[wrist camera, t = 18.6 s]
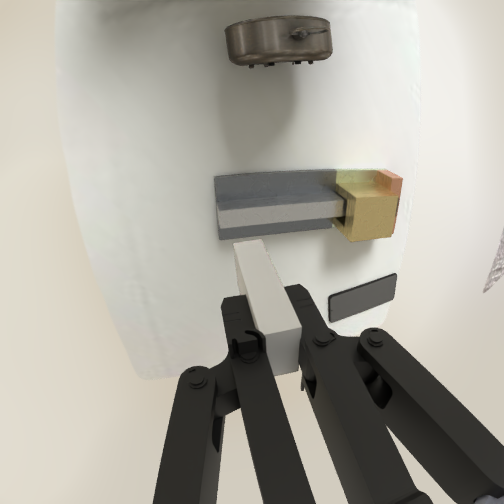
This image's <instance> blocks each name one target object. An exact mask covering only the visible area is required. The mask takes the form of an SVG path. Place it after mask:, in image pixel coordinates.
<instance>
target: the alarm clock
mask: <svg viewBox="0 0 504 504" xmlns="http://www.w3.org/2000/svg"><path fill="white" fill-rule="evenodd" d="M225 34H226V40H227V47H228V54H229V59H230V61H231V62H232V63H234V64H236V65H240V66H245V65H249V68H254V64H264V66H265V67H268V66H274V65H275V63H279V62H293V63H292V65H293V64H294V62H295V64H301V61H308V63H309V64H313V61H319V60H325V59H327V58H329V57H330V56H331V54H332V51H333V49H332V39H331V30H330V22H329V21H328V20H326V19H323V18H318V17H312V16H274V17H264V18H257V19H250V20H246V21H241V22H238V23H235V24H233V25H230V26H228V27H227V28H226V29H225Z"/></svg>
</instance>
